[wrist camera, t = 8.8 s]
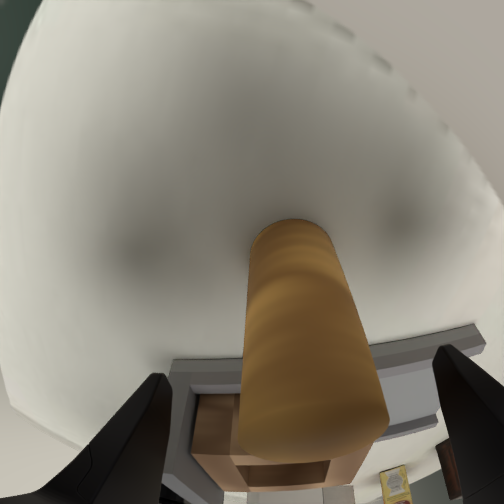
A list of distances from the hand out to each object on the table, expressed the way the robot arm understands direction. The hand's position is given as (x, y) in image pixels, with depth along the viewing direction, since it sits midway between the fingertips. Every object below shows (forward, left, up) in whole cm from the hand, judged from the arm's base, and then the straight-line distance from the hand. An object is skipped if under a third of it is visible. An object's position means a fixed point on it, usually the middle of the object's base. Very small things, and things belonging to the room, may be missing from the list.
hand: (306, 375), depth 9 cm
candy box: (+15, -42, -7) cm, 45 cm away
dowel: (0, 0, -7) cm, 7 cm away
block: (-1, -13, -6) cm, 14 cm away
